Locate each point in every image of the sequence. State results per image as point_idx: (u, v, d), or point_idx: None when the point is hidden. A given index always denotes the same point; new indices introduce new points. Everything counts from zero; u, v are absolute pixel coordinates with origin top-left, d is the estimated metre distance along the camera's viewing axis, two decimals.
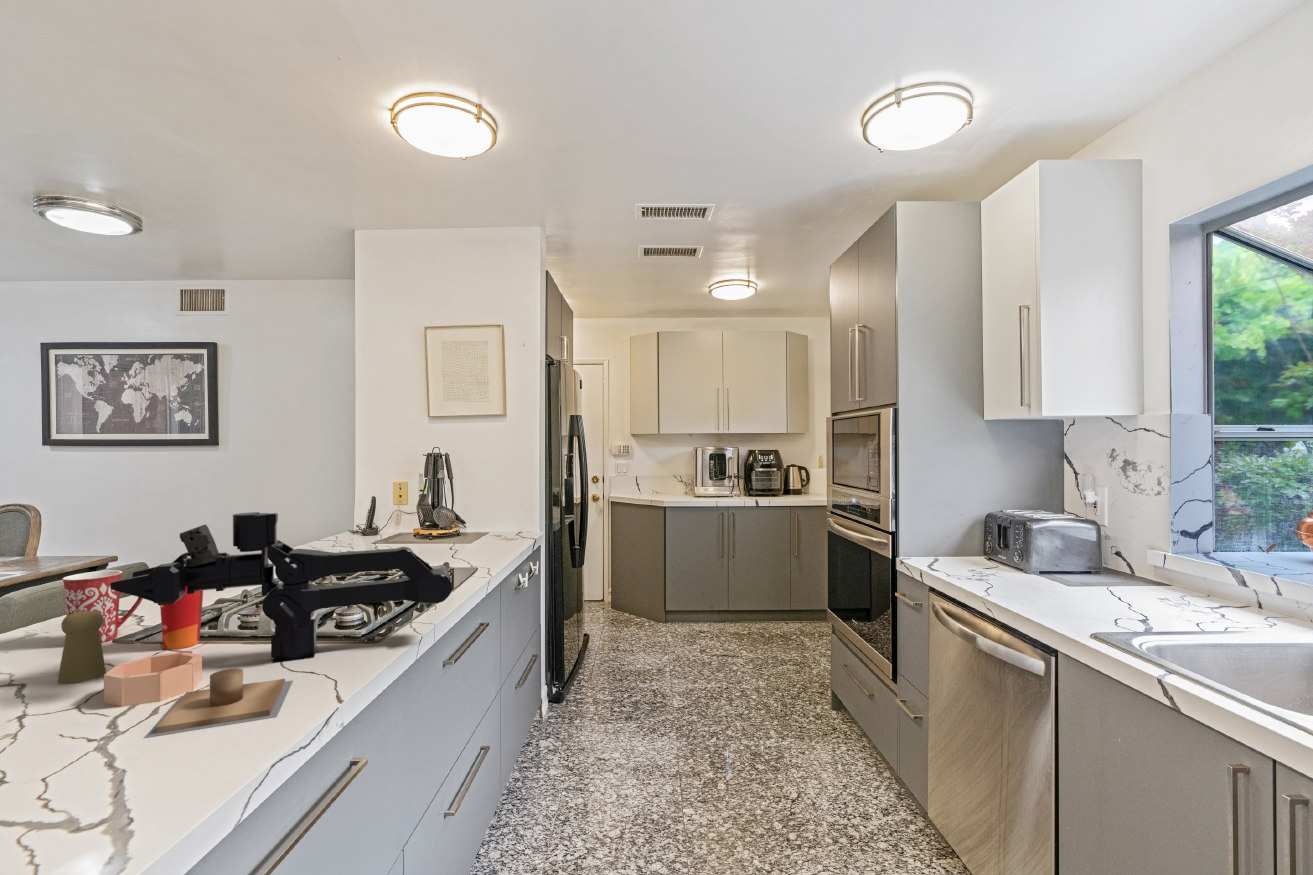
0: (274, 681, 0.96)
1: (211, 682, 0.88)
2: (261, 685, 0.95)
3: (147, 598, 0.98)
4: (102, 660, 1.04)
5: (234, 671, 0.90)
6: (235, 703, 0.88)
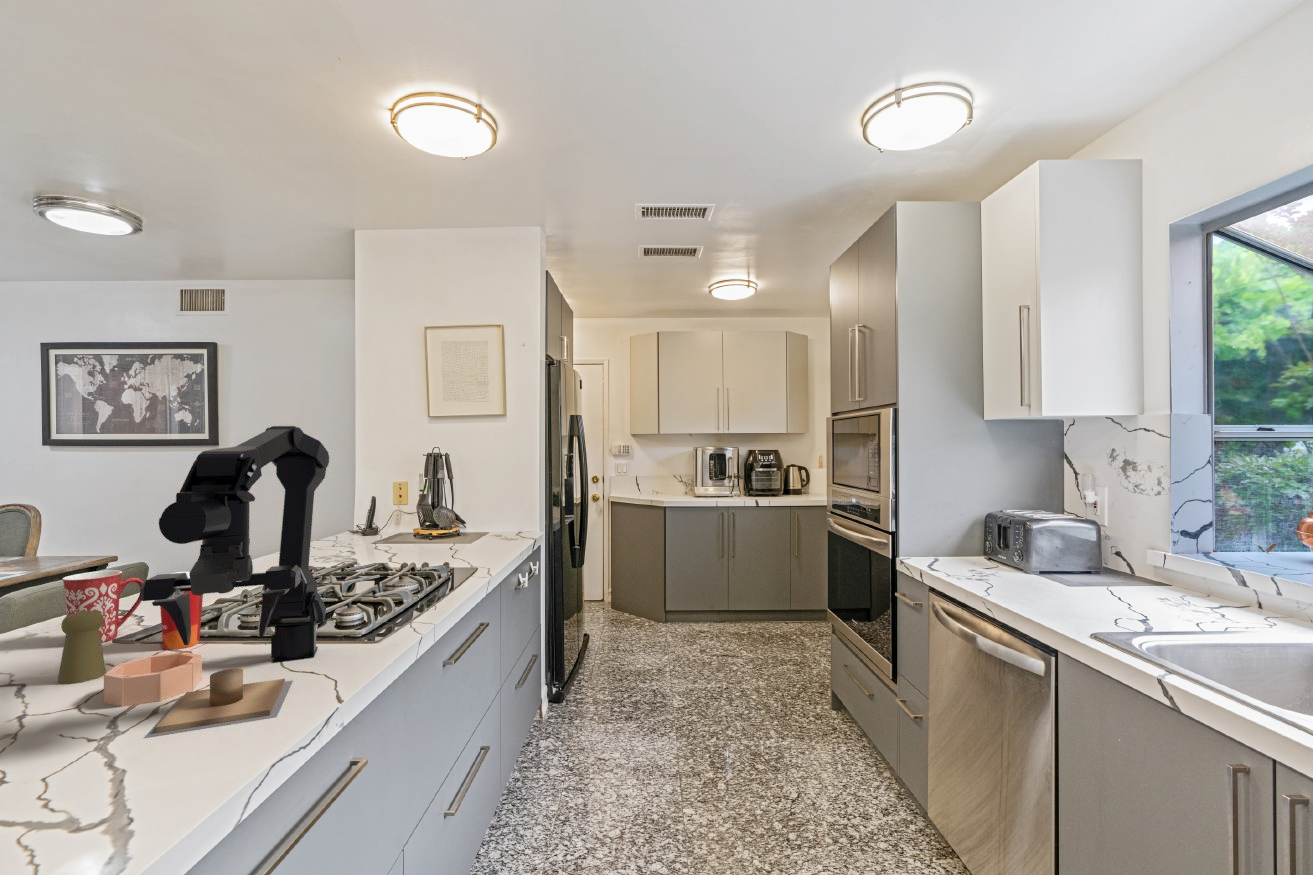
0: (274, 681, 0.96)
1: (211, 682, 0.88)
2: (261, 685, 0.95)
3: (279, 596, 0.94)
4: (102, 660, 1.04)
5: (234, 671, 0.90)
6: (235, 703, 0.88)
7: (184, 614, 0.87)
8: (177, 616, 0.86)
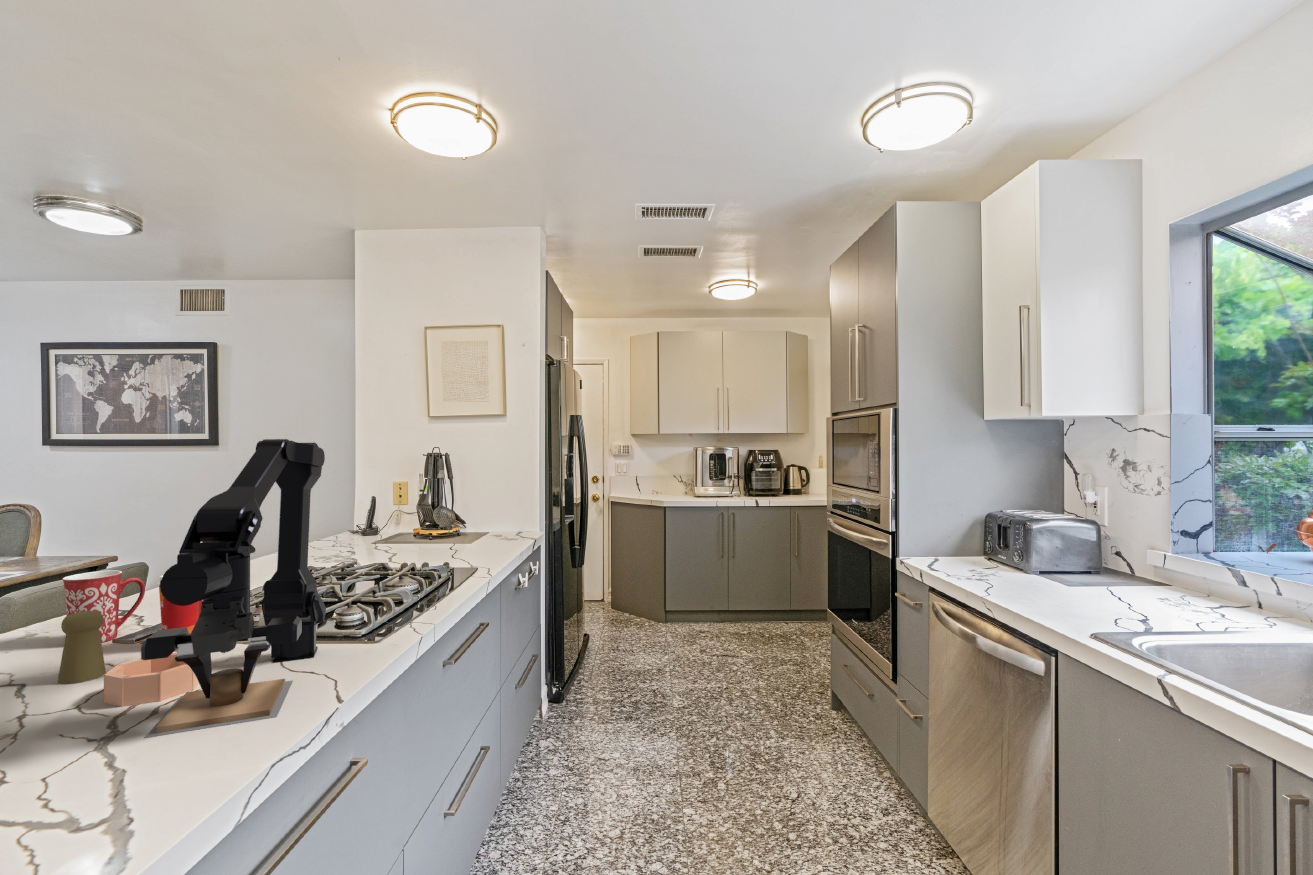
0: (274, 681, 0.96)
1: (211, 682, 0.88)
2: (261, 685, 0.95)
3: None
4: (102, 660, 1.04)
5: (234, 671, 0.90)
6: (235, 703, 0.88)
7: (206, 668, 0.88)
8: (199, 670, 0.87)
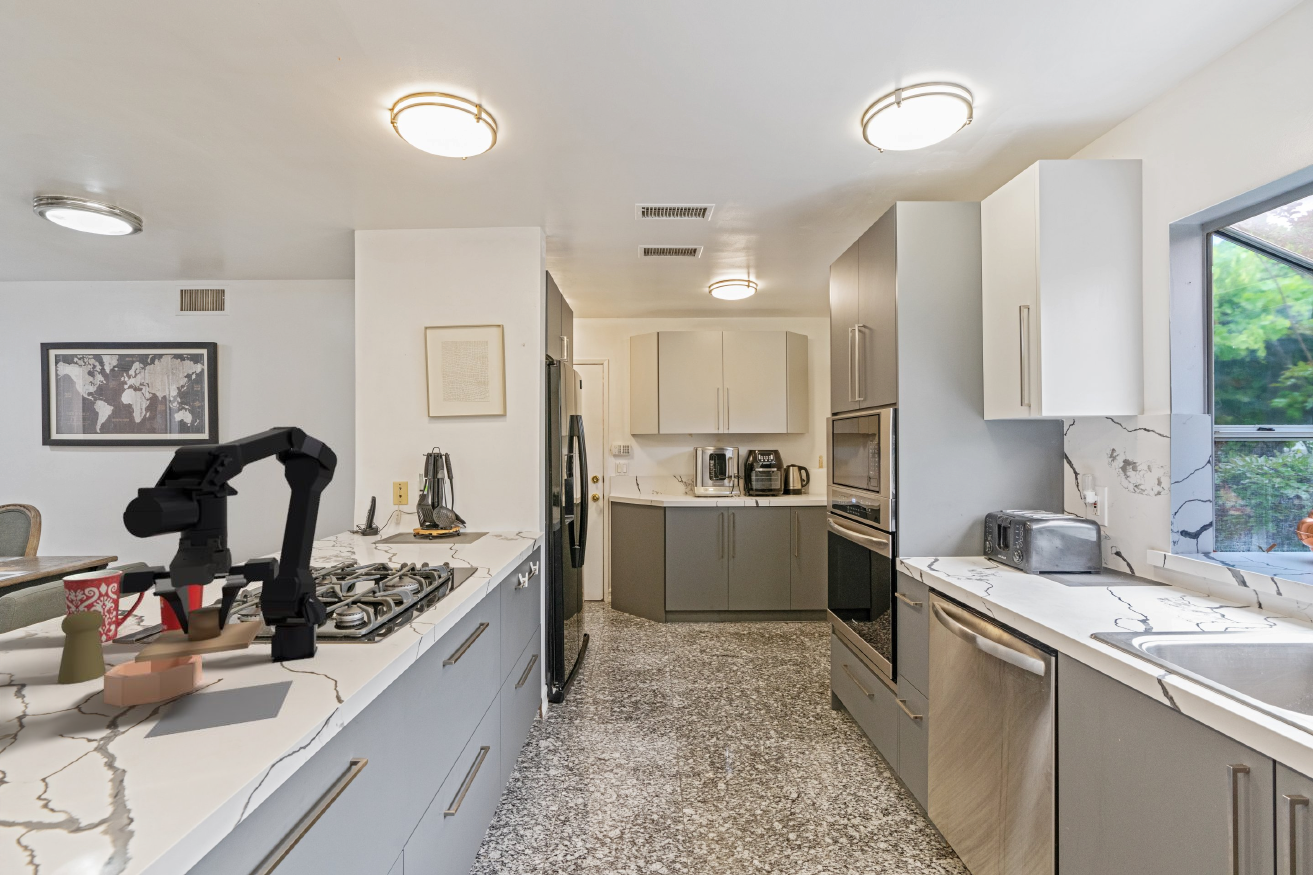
0: (252, 622, 0.99)
1: (189, 618, 0.90)
2: (239, 625, 0.97)
3: (239, 590, 0.95)
4: (102, 660, 1.04)
5: (212, 609, 0.92)
6: (214, 639, 0.90)
7: (184, 604, 0.90)
8: (177, 606, 0.89)
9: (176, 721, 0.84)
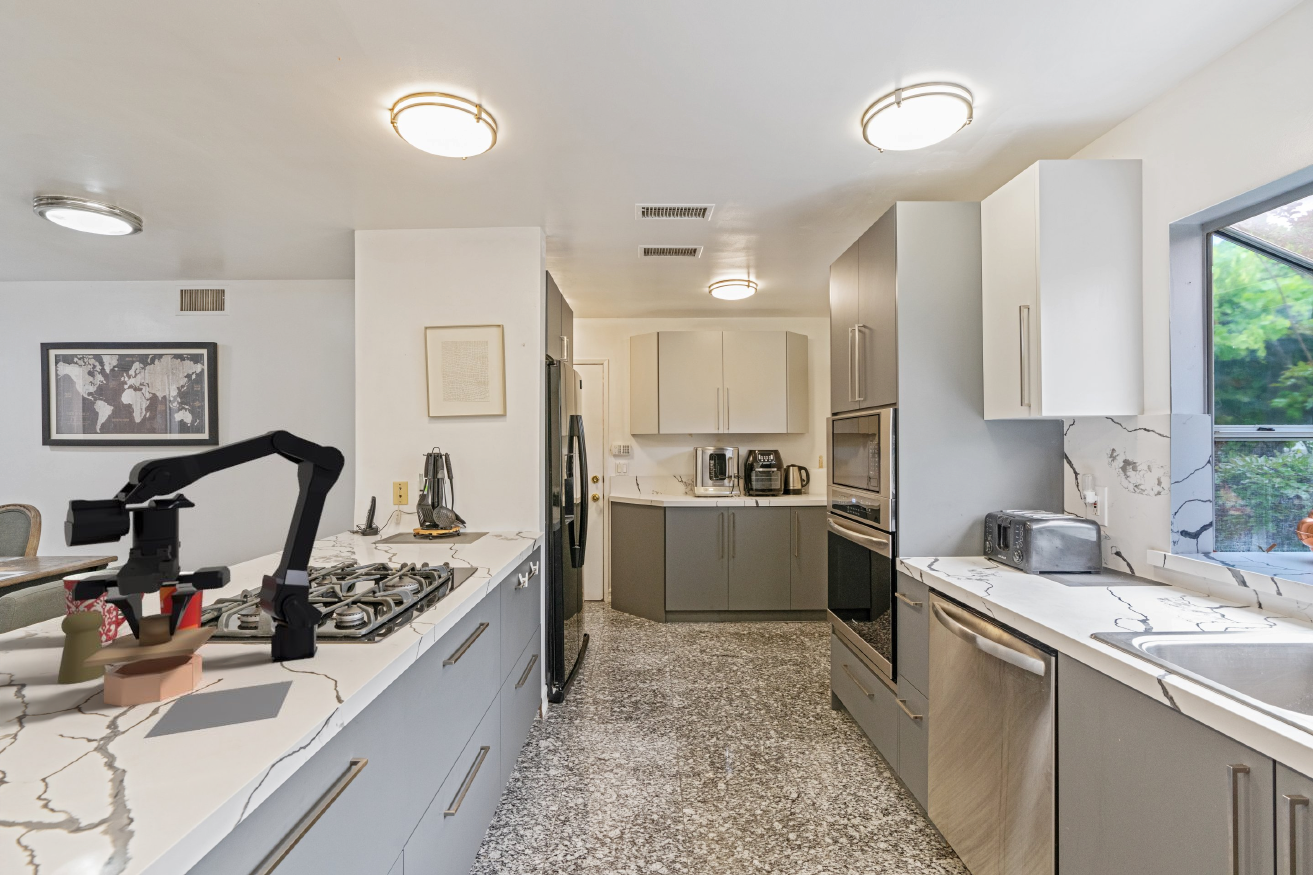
0: (205, 628, 1.03)
1: (140, 624, 0.94)
2: (192, 631, 1.01)
3: (191, 597, 1.00)
4: None
5: (163, 615, 0.97)
6: (163, 644, 0.94)
7: (135, 611, 0.95)
8: (128, 612, 0.94)
9: (176, 721, 0.84)
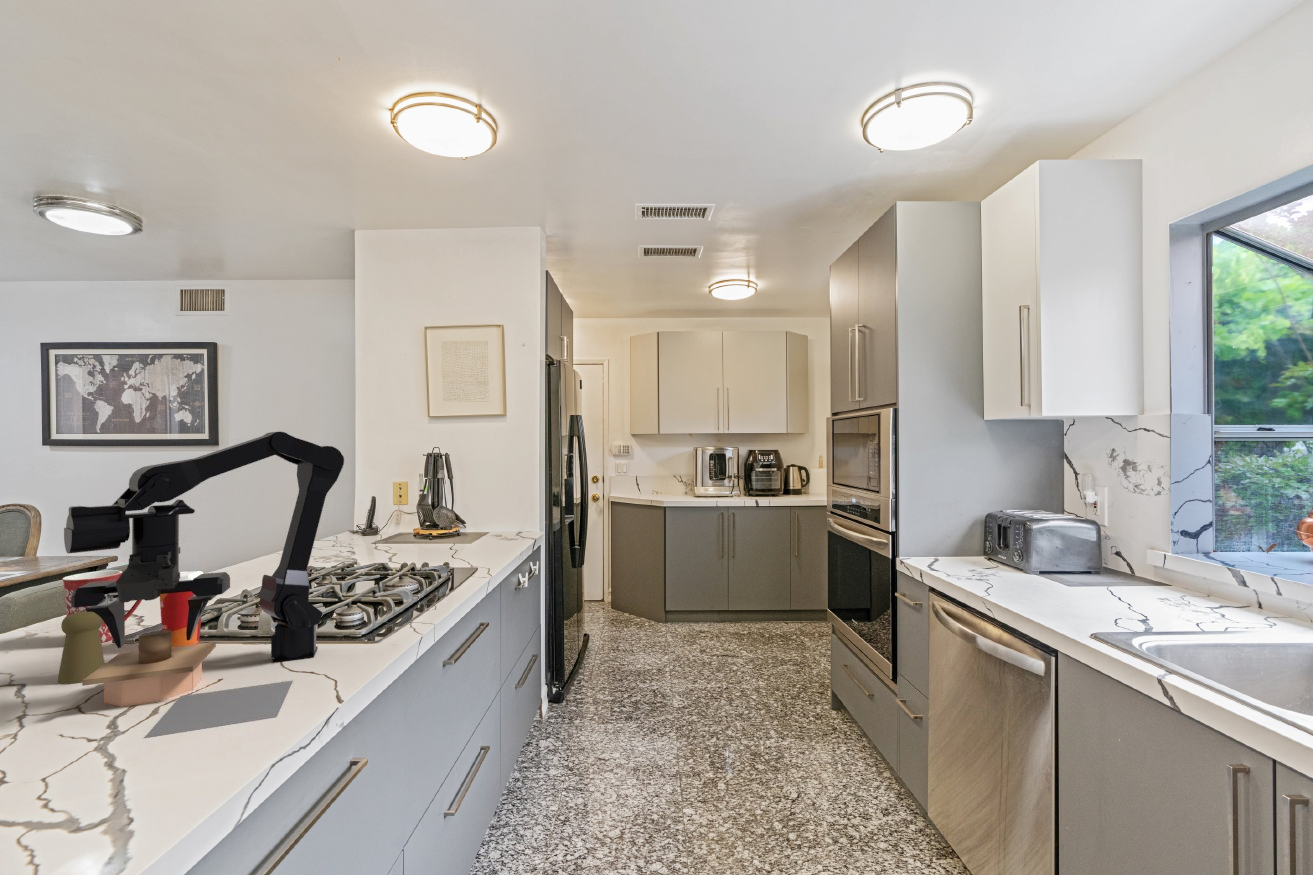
0: (204, 644, 1.03)
1: (139, 641, 0.94)
2: (191, 647, 1.01)
3: (207, 602, 1.00)
4: (102, 660, 1.04)
5: (163, 632, 0.96)
6: (162, 661, 0.94)
7: (117, 619, 0.94)
8: (110, 621, 0.93)
9: (176, 721, 0.84)
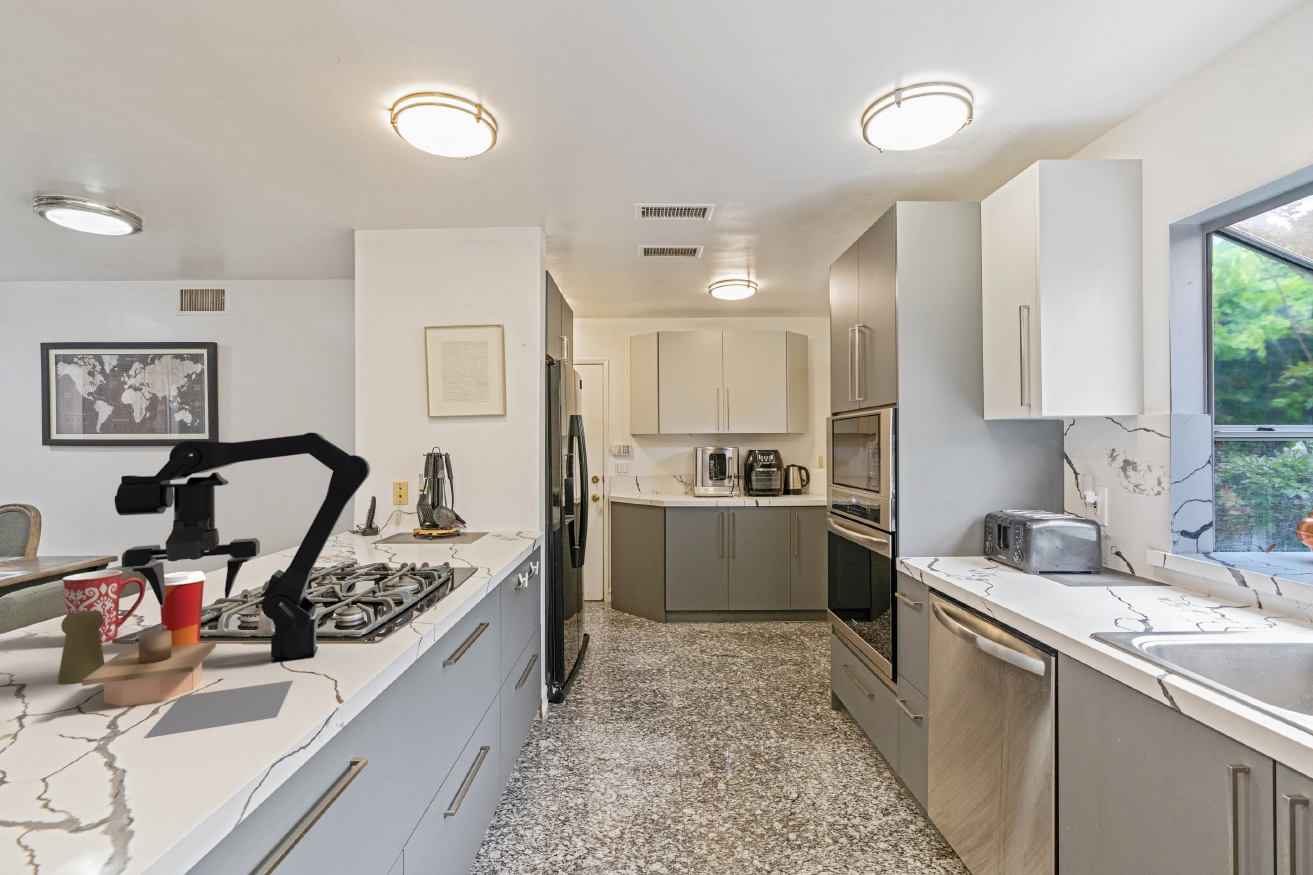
0: (204, 644, 1.03)
1: (139, 641, 0.94)
2: (191, 647, 1.01)
3: (241, 564, 1.11)
4: (102, 660, 1.04)
5: (163, 632, 0.96)
6: (162, 661, 0.94)
7: (159, 579, 1.04)
8: (154, 580, 1.03)
9: (176, 721, 0.84)
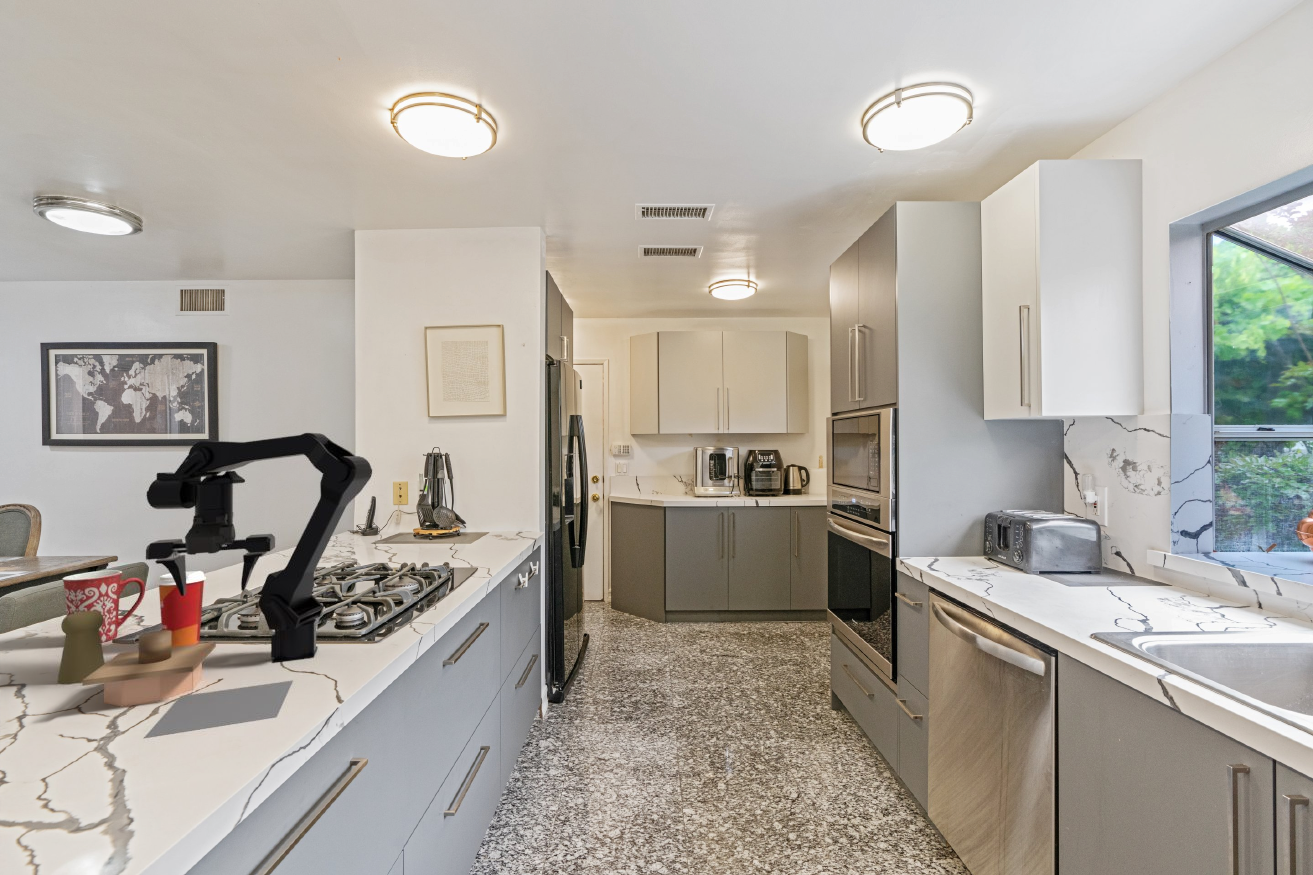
0: (204, 644, 1.03)
1: (139, 641, 0.94)
2: (191, 647, 1.01)
3: (257, 559, 1.17)
4: (102, 660, 1.04)
5: (163, 632, 0.96)
6: (162, 661, 0.94)
7: (181, 571, 1.10)
8: (175, 572, 1.09)
9: (176, 721, 0.84)
